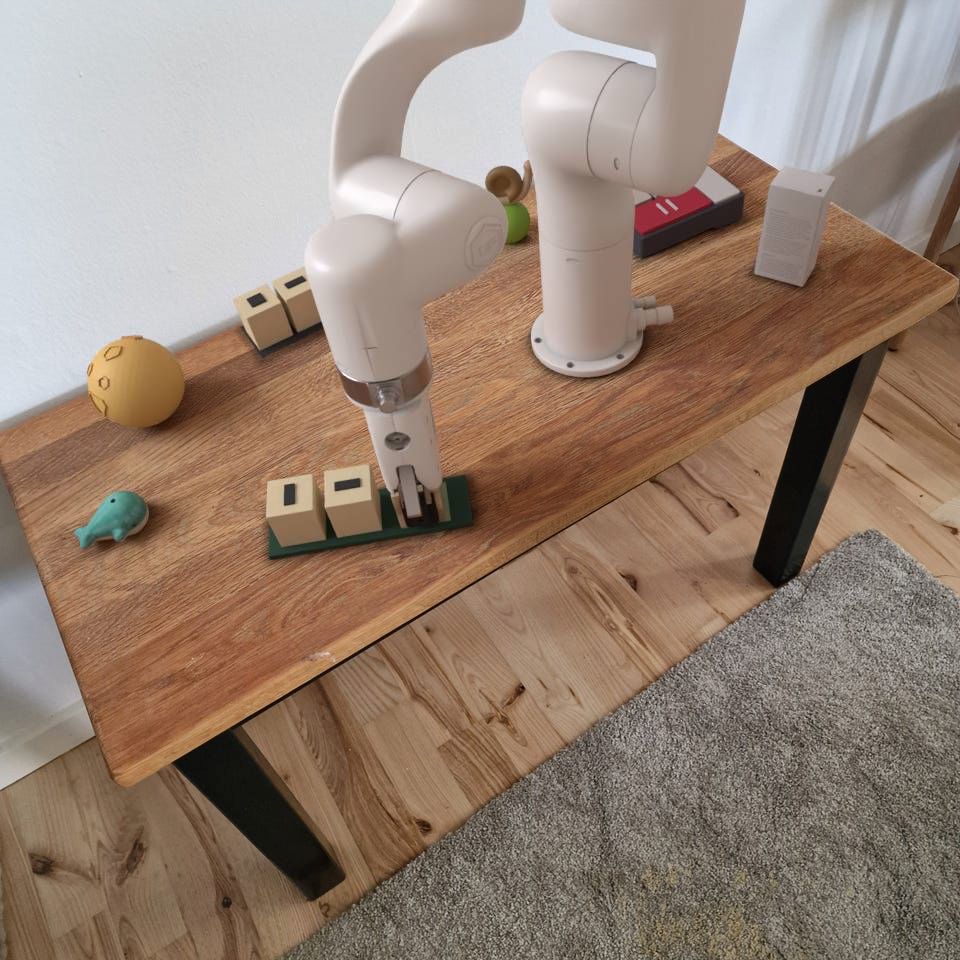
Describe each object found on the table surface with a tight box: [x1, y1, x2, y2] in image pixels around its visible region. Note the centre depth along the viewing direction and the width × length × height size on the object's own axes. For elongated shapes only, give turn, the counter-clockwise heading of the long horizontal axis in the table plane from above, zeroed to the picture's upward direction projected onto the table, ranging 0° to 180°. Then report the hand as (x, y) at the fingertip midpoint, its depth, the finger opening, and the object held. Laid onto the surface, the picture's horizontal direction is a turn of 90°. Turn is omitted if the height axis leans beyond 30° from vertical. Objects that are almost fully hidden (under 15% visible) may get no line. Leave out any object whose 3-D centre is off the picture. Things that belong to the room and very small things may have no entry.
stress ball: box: [86, 334, 186, 429], centre depth 90 cm, size 10×10×10 cm
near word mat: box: [265, 463, 474, 561], centre depth 79 cm, size 20×6×6 cm, turn 98°
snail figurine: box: [484, 159, 534, 245], centre depth 103 cm, size 5×6×12 cm
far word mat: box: [232, 266, 324, 359], centre depth 100 cm, size 20×7×6 cm, turn 123°
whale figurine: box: [74, 490, 150, 551], centre depth 83 cm, size 6×7×4 cm
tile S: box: [391, 485, 446, 528], centre depth 79 cm, size 4×4×5 cm
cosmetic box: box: [753, 165, 837, 288], centre depth 93 cm, size 6×4×12 cm
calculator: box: [633, 164, 746, 259], centre depth 105 cm, size 11×4×15 cm
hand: (420, 500), depth 80 cm, fingers closed on tile S, 4 cm apart
